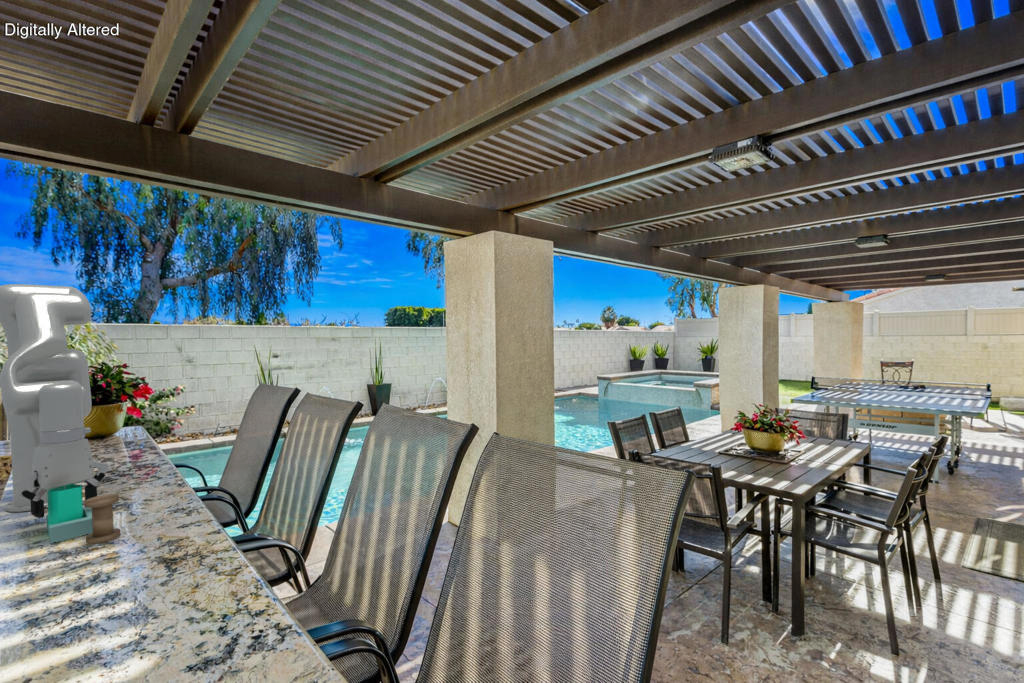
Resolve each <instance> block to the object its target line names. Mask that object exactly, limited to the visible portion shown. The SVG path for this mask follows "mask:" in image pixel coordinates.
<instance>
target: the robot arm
mask: <svg viewBox="0 0 1024 683" xmlns="http://www.w3.org/2000/svg"><path fill="white" fill-rule="evenodd" d="M91 318H92V307H91V304H90V301H89V299H88V298H87V296H86V295H85V294H84V293H83V292H82V291H80V290H79V289H78V288H76V287H74V286H67V285H66V286H65V285H50V284H49V285H47V284H45V285H44V284H30V283H29V284H26V283H24V284H23V283H14V284H13V283H10V284H4V285H0V325H1V328H2V329H3V331H4V333H5V338H6V344H7V345H6V346H7V347H6V348H7V360H6V361H5V363H4V364H3V366H2V367H1V370H0V396H1V403H2V407H3V409H4V413H5V417H6V421H7V425H8V430H9V437H10V438H9V440H10V454H11V456H10V457H11V475H12V476H11V477H12V478H11V479H12V497H13V498H12V499H13V501H10V502H8V503H7V504H6V505H5V506H4V510H5V511H6V512H10V513H18V512H19V513H21V512H29V511H30V514H31V515H32V516H33V517H34V518H37V519H42V518H44V517H45V508H44V507H46V508H48V507H47V506H48V501H47V491H48V490H50V489H54V488H59V487H63V486H67V485H71V484H79V483H83V482H84V483H85V484H86V485H85V486H84V501H85V500H87V499H90V498H93V497H96V496H98V486H99V485H100V483H101V481H102V480H103V479H104V478H105V477H106V474H107V472H108V469H109V468H110V465H109V464H108V463H102V462H97V461H93V460H94V459H93V453H92V449H91V446H90V443H89V439H88V438H86V435H87V434H90V433H91V432H92V429H91V428H90V427H86V426H85V424H84V422H85V421H84V418H85V417H87V416H88V415H89V414H90V413H91V411H92V404H93V403H92V392H91V381H90V372H89V366H88V365H89V363H88V360H87V356H86V355H85V354H84V352H83V351H82V350H80V349H78V348H77V349H76V348H68V346H69V344H68V339H67V334H66V329H65V326H69V325H70V326H73V325H74V326H79V325H80V326H82V325H86V324H88V322H90V320H91ZM94 468H97V469H98V471H97V473H96V474H95V475H94V473H95V472H94V471H95V470H94Z"/></svg>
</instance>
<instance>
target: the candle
mask: <svg viewBox="0 0 1024 683" xmlns="http://www.w3.org/2000/svg"><path fill="white" fill-rule="evenodd" d="M47 501H48V507H47V514H48V526H49V525H53V524H58V523H62V522H67V521H71V520H76V519H80V518H83V507H84V502H83V484H78V483H75V484H71V485H67V486H63V487H59V488H54V489H50V490H48V491H47Z"/></svg>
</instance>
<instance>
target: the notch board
mask: <svg viewBox="0 0 1024 683" xmlns="http://www.w3.org/2000/svg"><path fill="white" fill-rule="evenodd" d="M45 520H46V532H47V531H48V538H49V540H48V541H49V544H50V543H51V544H55V543H54V542H56V543H59V541H60V542H64V541H68V540H72V539H75V537H76V538H79V537H78V536H81V537H83V536H82V535H85V536H87V535H86V534H91V533H93V530H92V508H86V507H84V506H83V518H80V519H76V520H71V521H67V522H62V523H58V524H53V525H49V526H48V513H47V514H45Z"/></svg>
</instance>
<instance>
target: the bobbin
mask: <svg viewBox="0 0 1024 683" xmlns="http://www.w3.org/2000/svg"><path fill="white" fill-rule="evenodd" d="M119 501H120V494H119V493H118V494H117V493H111V494H109V493H108V494H102V495H97V496H96V497H93V498H90V499H87V500H85V499H84V501H83V507H86V508H92V530H93V533H91V534H89V535H85V543H86V544H87V543H88V545H95V544H96V545H97V543H98V544H102V543H106V542H107V543H108V542H110V541H113V540H115V539H117V538H119V537H120V536H121V529H120V528H116V527H115V528H114V508H113V506H114V504H116V503H118V502H119Z"/></svg>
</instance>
